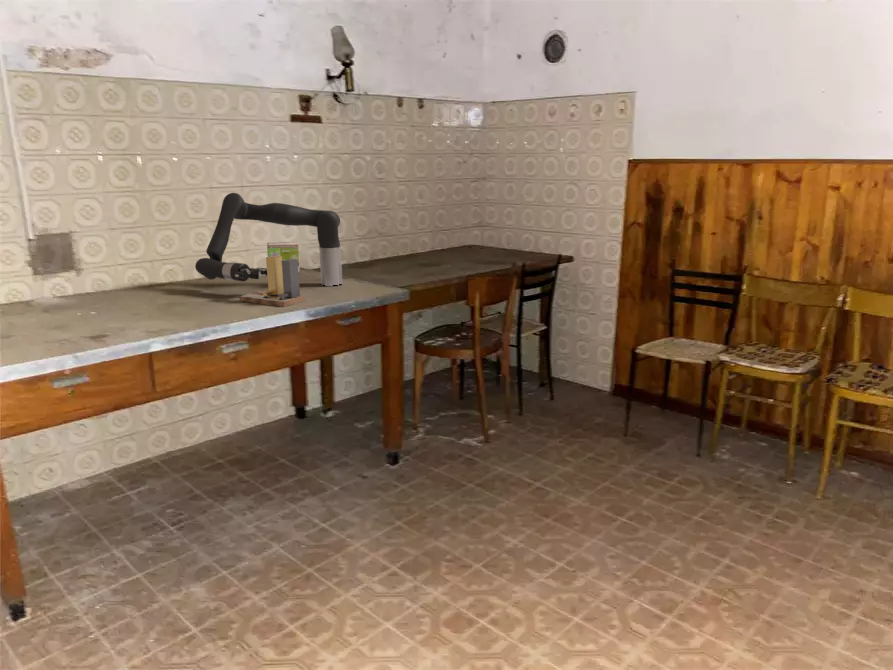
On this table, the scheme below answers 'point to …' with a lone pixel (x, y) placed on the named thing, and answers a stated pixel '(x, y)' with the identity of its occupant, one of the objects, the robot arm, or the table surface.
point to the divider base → (278, 303)
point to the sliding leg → (274, 276)
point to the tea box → (284, 250)
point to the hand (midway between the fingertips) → (265, 274)
